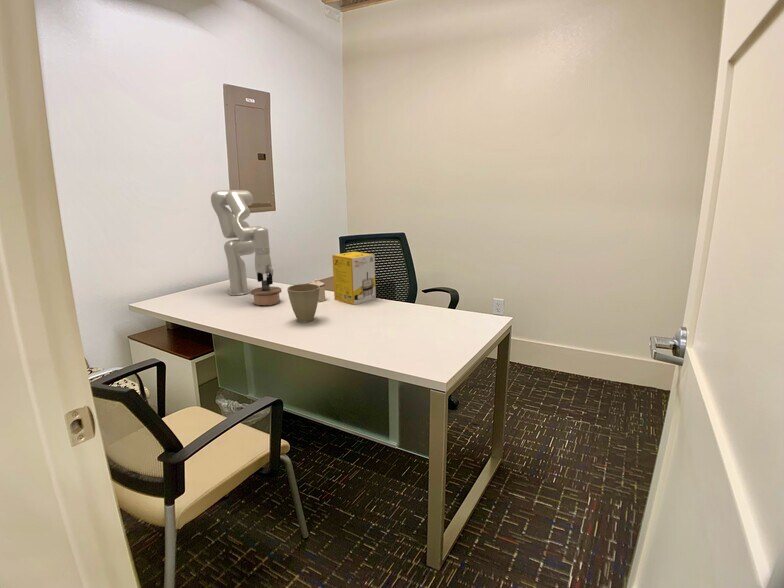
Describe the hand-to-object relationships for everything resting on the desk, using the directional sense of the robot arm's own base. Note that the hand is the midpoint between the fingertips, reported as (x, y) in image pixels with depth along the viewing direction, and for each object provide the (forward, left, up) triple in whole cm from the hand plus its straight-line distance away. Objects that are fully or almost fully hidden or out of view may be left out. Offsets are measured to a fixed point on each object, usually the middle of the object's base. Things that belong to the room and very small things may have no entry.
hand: (265, 282), depth 236 cm
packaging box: (+31, +37, -11) cm, 49 cm away
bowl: (0, 0, -11) cm, 11 cm away
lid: (0, 0, -5) cm, 5 cm away
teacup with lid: (+14, +22, -11) cm, 29 cm away
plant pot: (+41, -3, -11) cm, 43 cm away
